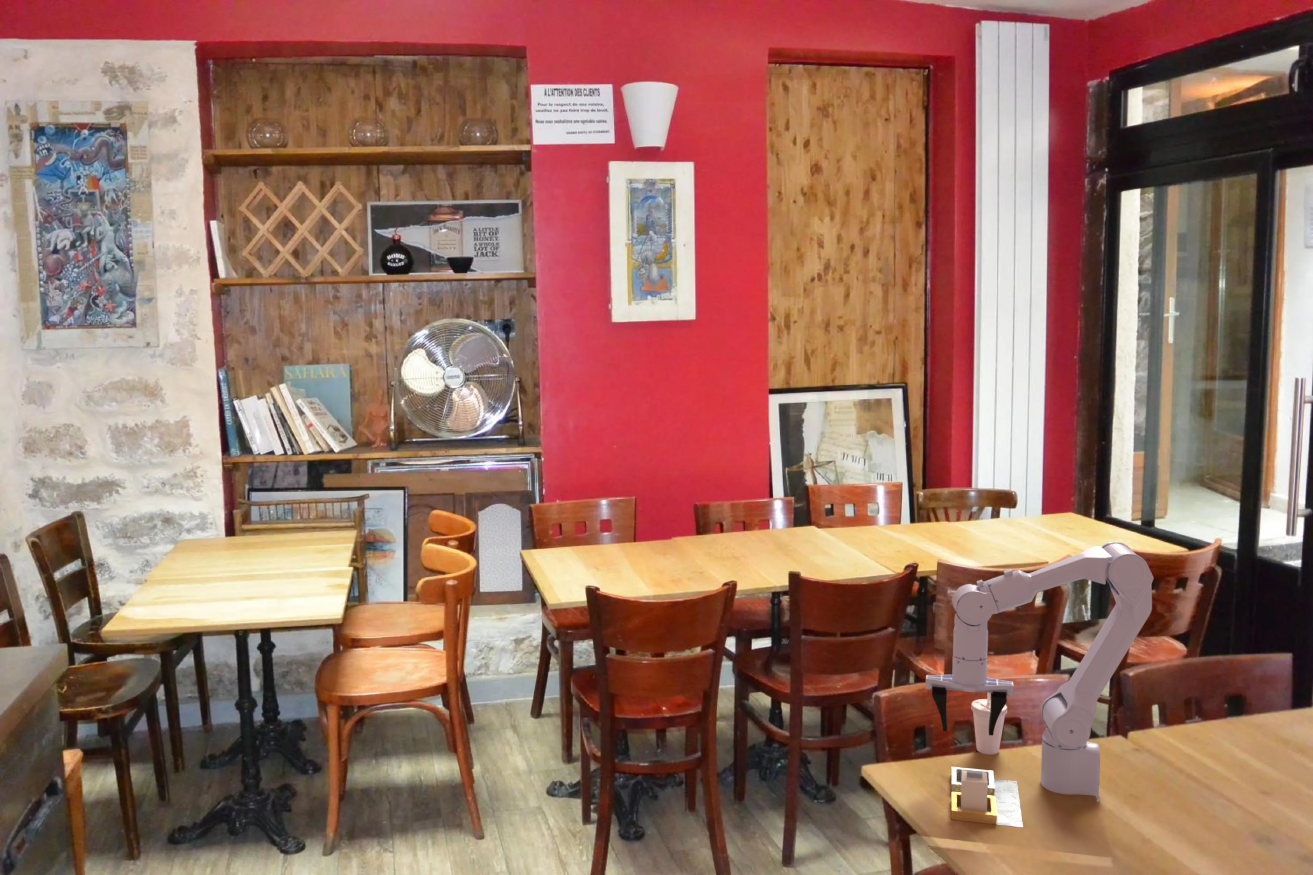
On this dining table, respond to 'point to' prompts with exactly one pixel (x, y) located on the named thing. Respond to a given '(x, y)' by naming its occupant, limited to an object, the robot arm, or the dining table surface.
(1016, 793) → the panel
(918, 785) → the dining table surface
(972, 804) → the plug
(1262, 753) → the dining table surface
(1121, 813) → the dining table surface
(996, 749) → the smoothie
